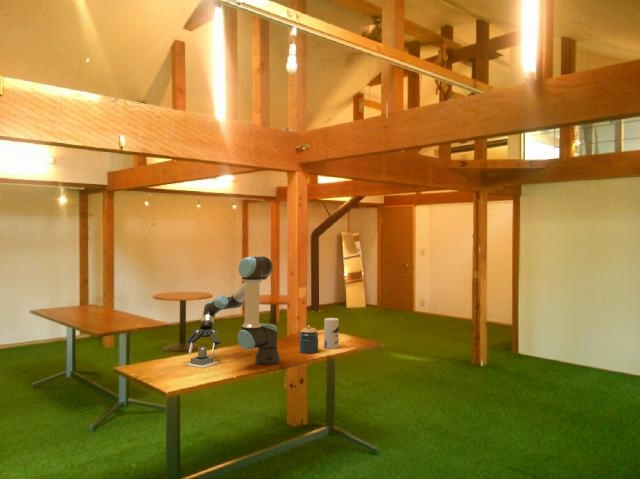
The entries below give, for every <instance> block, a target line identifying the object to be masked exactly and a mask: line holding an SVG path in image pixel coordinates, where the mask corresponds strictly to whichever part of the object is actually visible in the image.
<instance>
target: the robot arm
mask: <svg viewBox="0 0 640 479" xmlns="http://www.w3.org/2000/svg"><path fill="white" fill-rule="evenodd" d="M273 270H274V265H273V261H272V260H271V259H270V258H269V257H267V256H246V257H244V258H242V259H241V260H240V262H239V264H238V270H237V271H238V273H239V275H240V276H241V277H242V281H244V282H243V283H242V284H241V285H240V287H239V288H237V290H235V292H234V293H233V294H232V295H230V296H225V295H219V296H217V297H216V298H215V299H214V300H212V301H211V300H210V301H207V302H205V304H204V308H203V312H202V318H201V322H200V327H199V329H196V328H195V329H194V330H193V332H192V333H191V335H189V337H188V338H187V339H186V343H187V345H188V354H189V355H192V352H193V351H192V350H193V346H194V345H193V344H194V343H195V342H197V341H198V340H199V339H201V338H210V340H211V341H212V342H213V344H212V350H211V354H212V356H213V355H215V350H217V348H218V345H221V340H220V337H219V336H218V331H217V330H218V329H216V328H215V329H214V330H213V328H214V322H215V318H216V315H217V314H218V313H219V312H221V311H223V310H224V311H225V310H229V309H237V308H241V307H242V306H243V305H244V322H243V324H241V330H240V331H238V333H237V336H236V338H237V343H238V344H239V346H240V347H241V348H242V349H244V350H253V349H255V348H256V349H257V351H256V355H255V358H254V363H255V364H257V365H264V366H265V365H276V364H278V363H280V362H281V360H280V359H281V357H280V354H279V351H278V326H277V325H276V324H272V323H260V292H261V291H260V288H261V286H260V285H261V284H260V283H262V281H263V280H264V281H265V280H267V279H268V277H270V276H271V274H272V272H273ZM212 334H214V336H215V337H214V336H213V335H212Z"/></svg>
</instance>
